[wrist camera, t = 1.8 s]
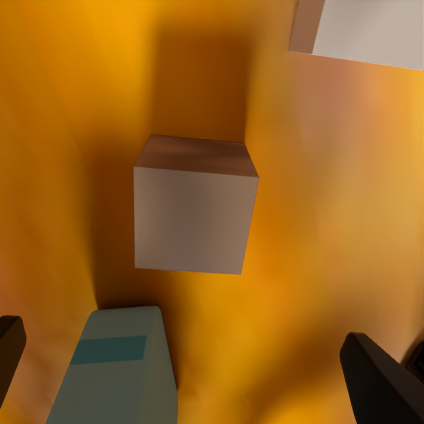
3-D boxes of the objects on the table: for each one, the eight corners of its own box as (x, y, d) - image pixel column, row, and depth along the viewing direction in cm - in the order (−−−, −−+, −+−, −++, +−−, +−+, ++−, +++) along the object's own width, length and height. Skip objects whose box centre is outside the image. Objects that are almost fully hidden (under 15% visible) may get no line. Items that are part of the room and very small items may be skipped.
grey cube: (244, 142, 17) (259, 177, 13) (231, 222, 20) (240, 274, 15) (151, 133, 17) (133, 166, 12) (149, 215, 19) (134, 268, 15)
